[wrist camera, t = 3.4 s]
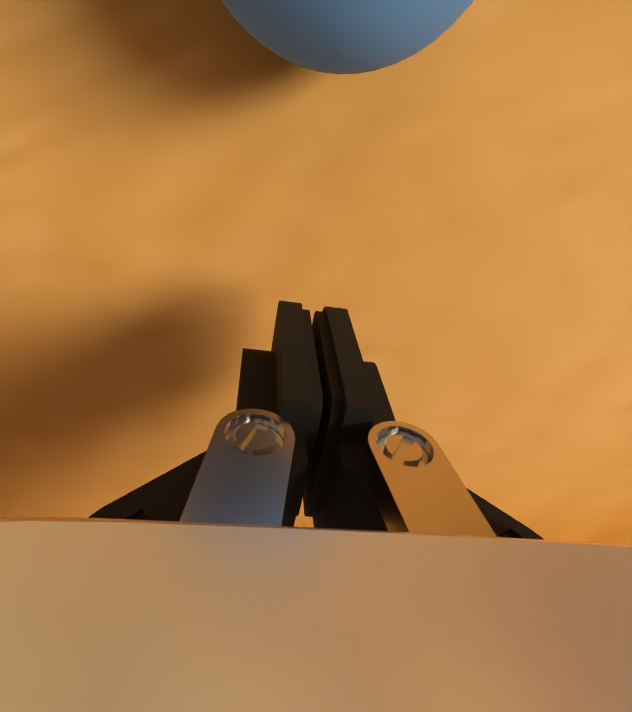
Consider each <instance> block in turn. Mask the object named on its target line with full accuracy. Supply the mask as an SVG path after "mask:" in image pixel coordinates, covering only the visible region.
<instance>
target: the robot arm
mask: <svg viewBox="0 0 632 712" xmlns="http://www.w3.org/2000/svg"><path fill="white" fill-rule="evenodd" d="M302 498H303V503H304V514H305V516H308V517H313V524H314V528H311V527H294V522H295V518H296V516H298V514H299V511H300V506H301V502H302ZM0 712H632V545H628V544H610V543H592V542H575V541H558V540H544V539H543V538H542V537H540V536H539V535H538V534H536V533H535V532H534V531H532V530H531V529H529V528H528V527H526V526H525V525H523V524H522V523H520V522H518V521H517V520H515V519H514V518H512V517H511V516H509V515H508V514H506V513H504V512H503V511H501V510H500V509H498V508H497V507H495V506H494V505H492V504H490V503H489V502H487V501H486V500H484V499H483V498H481V497H480V496H478V495H476V494H475V493H473V492H472V491H470V490H469V489H467V488H466V487H465V486H464V484H463V482H462V481H461V479H460V478H459V476H458V475H457V473H456V471H455V470H454V468H453V467H452V465H451V464H450V462H449V460H448V459H447V457H446V456H445V454H444V452H443V451H442V449H441V448H440V446H439V445H438V443H437V442H436V441H435V440H434V439H433V437H432V436H430V435H429V434H428V433H426V432H425V431H424V430H422V429H420V428H418V427H416V426H414V425H411V424H408V423H404V422H398V421H395V418H394V415H393V412H392V409H391V406H390V403H389V400H388V398H387V395H386V392H385V389H384V386H383V383H382V380H381V377H380V375H379V372H378V369H377V366H376V364H375V363H373V362H364V361H363V359H362V356H361V353H360V350H359V346H358V343H357V340H356V337H355V333H354V330H353V327H352V324H351V320H350V317H349V314H348V311H347V309H342V308H334V307H326V306H325V307H324V309H323V311H322V312H319V311H316V312H315V314H314V318H313V323H311V317H310V311H309V310H303V309H302V304H301V303H294V302H286V301H279V303H278V309H277V315H276V322H275V329H274V336H273V342H272V349H271V351H263V350H254V349H245V348H243V353H242V362H241V371H240V379H239V389H238V398H237V407H236V411H234V412H232V413H229V414H228V415H226V416H225V417H223V418H222V419H221V420H220V422H219V423H218V425H217V426H216V429H215V431H214V434H213V436H212V439H211V441H210V444H209V446H208V449H207V451H205V452H203V453H201V454H199V455H198V456H196V457H194V458H192V459H190V460H188V461H187V462H185V463H183V464H181V465H179V466H177V467H176V468H174V469H172V470H170V471H168V472H167V473H165V474H163V475H161V476H159V477H157V478H156V479H154V480H152V481H150V482H148V483H146V484H145V485H143V486H141V487H139V488H137V489H135V490H134V491H132V492H130V493H128V494H126V495H124V496H123V497H121V498H119V499H117V500H115V501H113V502H112V503H110V504H108V505H106V506H104V507H102V508H101V509H99V510H98V511H97V512H95V513H94V514H92V515H91V516H90V517H89V518H62V517H0Z"/></svg>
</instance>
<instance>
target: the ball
mask: <svg viewBox="0 0 632 712" xmlns="http://www.w3.org/2000/svg"><path fill="white" fill-rule="evenodd" d="M473 1H474V0H221V2H222V3H223V5H224V6H225V7H226V9H227V10H228V11H229V13H230V14H231V15H232V17H233V18H234V19H235V20H236V21H237V22H238V23H239V24H240V25H241V26H242V27H243V28H244V29H245V31H246V32H247V33H249V34H250V35H251V36H252V37H253V38H255V39H256V40H257V41H258V42H259V43H260V44H262V45H263V46H264V47H266V48H267V49H269V50H270V51H272V52H273V53H275V54H277V55H278V56H280V57H281V58H283V59H285V60H288V61H290V62H292V63H294V64H296V65H299V66H301V67H304V68H308V69H311V70H315V71H318V72H325V73H333V74H357V73H363V72H369V71H374V70H378V69H381V68H384V67H387V66H389V65H392V64H395V63H398V62H400V61H402V60H404V59H406V58H408V57H410V56H412V55H414V54H416V53H417V52H419V51H420V50H422V49H423V48H425V47H426V46H428V45H429V44H430V43H432V42H433V41H435V40H436V39H437V38H438V37H439V36H440V35H441V34H443V33H444V32H445V31H446V30H447V29H448V28H449V27H450V26H452V24H453V23H454V22H455V21H456V20H457V19H458V18H459V17H460V16H461V14H462V13H463V12H464V11H465V10H466V9H467V8H468V7H469V5H470V4H471V3H472V2H473Z"/></svg>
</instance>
